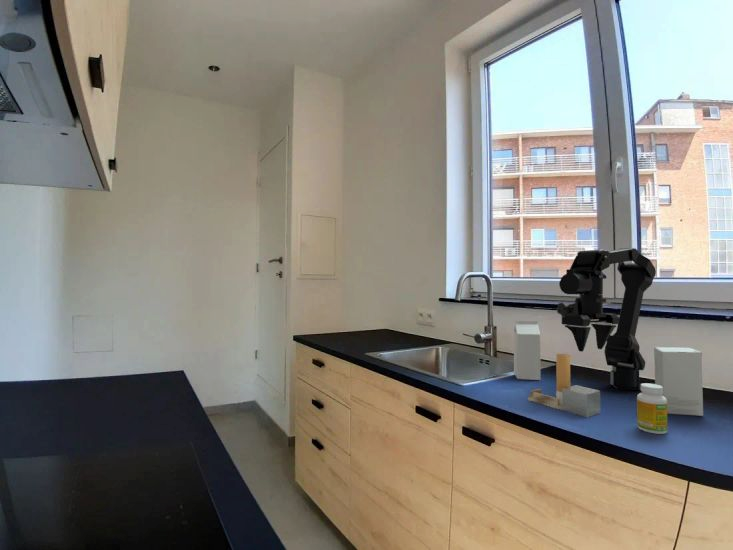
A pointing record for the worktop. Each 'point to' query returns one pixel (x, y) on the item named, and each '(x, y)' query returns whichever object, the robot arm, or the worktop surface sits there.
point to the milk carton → (527, 350)
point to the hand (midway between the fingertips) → (590, 350)
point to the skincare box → (680, 379)
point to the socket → (581, 400)
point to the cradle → (544, 399)
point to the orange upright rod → (562, 374)
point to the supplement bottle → (652, 409)
